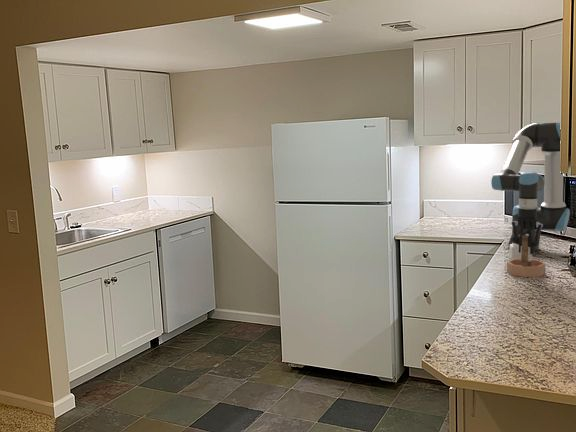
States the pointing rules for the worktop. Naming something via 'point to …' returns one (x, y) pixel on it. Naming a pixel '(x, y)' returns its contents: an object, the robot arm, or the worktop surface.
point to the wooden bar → (525, 250)
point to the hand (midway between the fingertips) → (526, 260)
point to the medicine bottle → (514, 250)
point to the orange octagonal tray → (526, 268)
